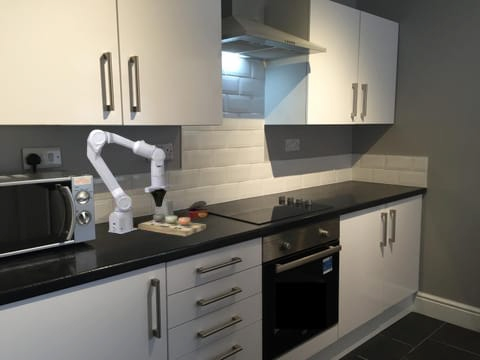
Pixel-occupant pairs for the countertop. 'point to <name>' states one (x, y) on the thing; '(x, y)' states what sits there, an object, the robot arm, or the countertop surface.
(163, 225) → the button board
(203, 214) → the canned food
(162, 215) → the grey button
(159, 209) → the medicine box
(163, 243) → the countertop surface
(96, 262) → the countertop surface
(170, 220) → the sage button
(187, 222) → the terracotta button
